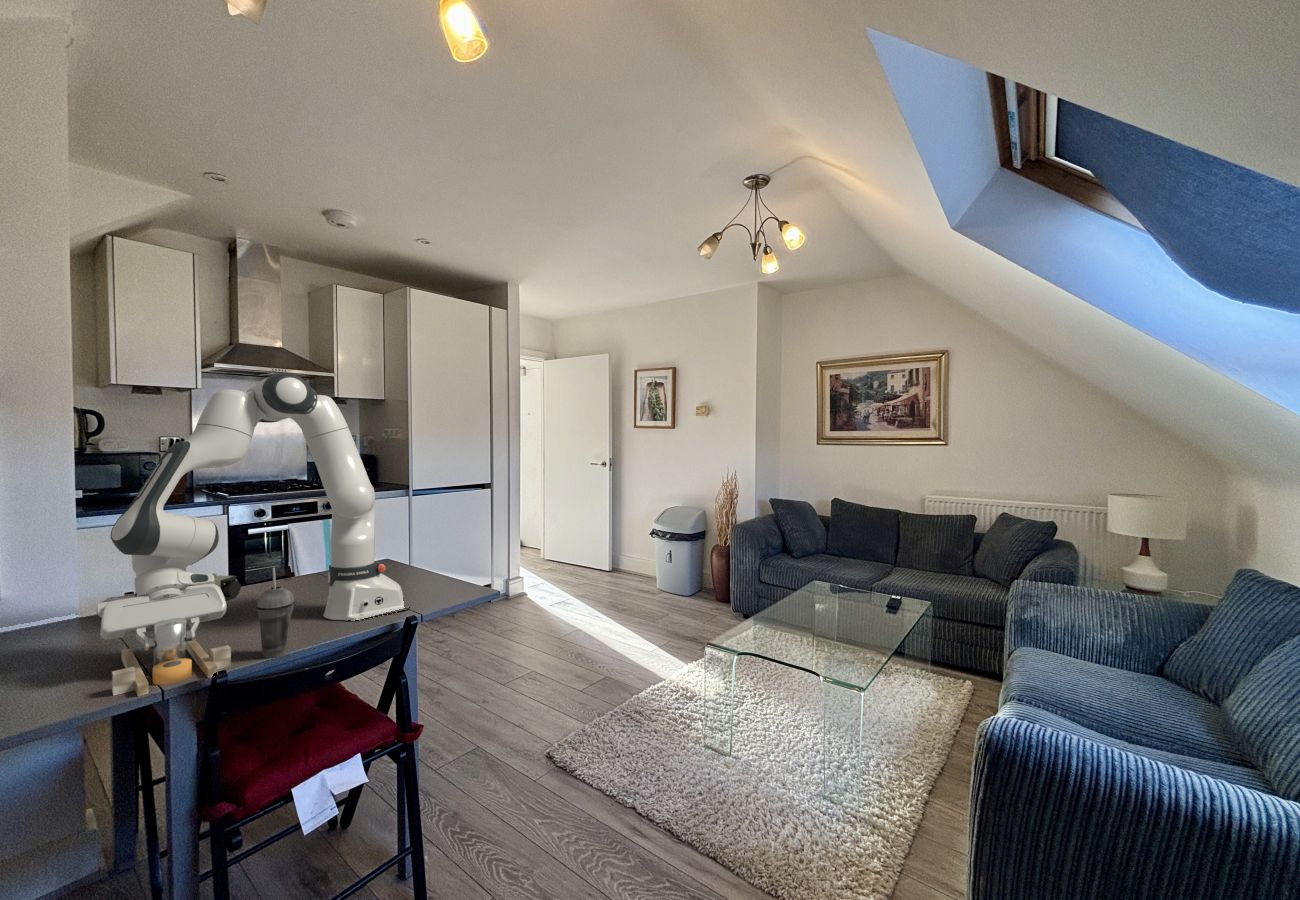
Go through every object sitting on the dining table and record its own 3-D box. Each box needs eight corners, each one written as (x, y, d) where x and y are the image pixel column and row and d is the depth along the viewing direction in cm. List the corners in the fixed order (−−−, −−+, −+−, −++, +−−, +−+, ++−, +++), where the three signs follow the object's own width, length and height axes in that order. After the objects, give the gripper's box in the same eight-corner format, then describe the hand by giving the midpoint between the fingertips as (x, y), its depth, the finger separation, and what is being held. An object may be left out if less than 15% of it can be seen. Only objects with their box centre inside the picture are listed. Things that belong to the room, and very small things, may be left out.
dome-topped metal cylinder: (186, 659, 116) (187, 616, 115) (183, 670, 112) (184, 625, 111) (155, 663, 113) (157, 619, 112) (151, 675, 109) (152, 629, 108)
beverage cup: (264, 663, 116) (265, 573, 116) (249, 655, 120) (250, 569, 120) (300, 652, 122) (301, 567, 122) (285, 645, 126) (286, 563, 126)
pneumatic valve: (227, 619, 143) (227, 576, 143) (185, 618, 144) (186, 575, 144) (243, 613, 149) (243, 571, 149) (203, 612, 149) (203, 570, 149)
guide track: (207, 640, 128) (207, 624, 128) (235, 670, 112) (235, 652, 112) (102, 663, 115) (102, 645, 115) (115, 702, 98) (115, 681, 98)
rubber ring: (194, 670, 112) (194, 655, 112) (188, 681, 107) (188, 665, 107) (156, 676, 109) (156, 661, 109) (148, 688, 104) (148, 672, 104)
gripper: (96, 591, 108) (101, 650, 102) (222, 573, 124) (232, 623, 118) (94, 608, 111) (99, 667, 105) (217, 588, 127) (227, 638, 120)
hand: (170, 644), depth 111 cm, fingers closed on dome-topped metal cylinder, 5 cm apart
